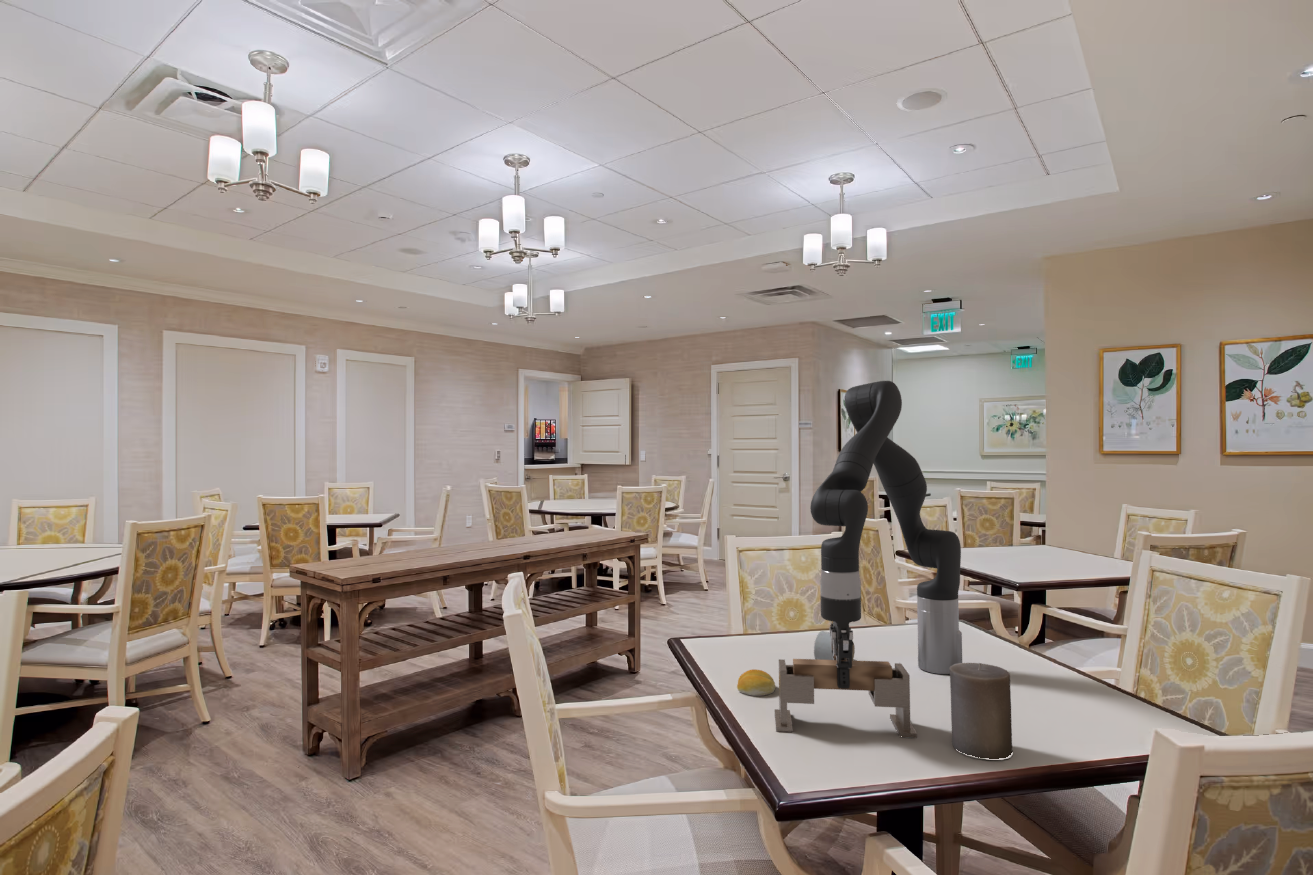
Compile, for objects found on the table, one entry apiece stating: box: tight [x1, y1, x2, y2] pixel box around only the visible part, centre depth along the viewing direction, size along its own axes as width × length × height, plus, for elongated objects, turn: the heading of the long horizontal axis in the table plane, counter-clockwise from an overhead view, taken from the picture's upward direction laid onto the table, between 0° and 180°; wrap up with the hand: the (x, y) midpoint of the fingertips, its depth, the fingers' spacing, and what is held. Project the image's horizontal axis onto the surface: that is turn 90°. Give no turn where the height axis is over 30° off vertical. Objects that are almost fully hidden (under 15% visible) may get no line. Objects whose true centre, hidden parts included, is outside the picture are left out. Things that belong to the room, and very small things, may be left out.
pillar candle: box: [949, 662, 1014, 759], centre depth 119 cm, size 10×10×15 cm
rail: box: [792, 658, 893, 692], centre depth 130 cm, size 18×4×4 cm, turn 82°
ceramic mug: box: [813, 630, 856, 661], centre depth 169 cm, size 11×8×8 cm
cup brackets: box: [774, 658, 918, 739], centre depth 130 cm, size 25×9×11 cm, turn 82°
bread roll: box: [736, 668, 776, 697], centre depth 150 cm, size 8×9×4 cm
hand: (842, 683), depth 130 cm, fingers closed on rail, 3 cm apart
